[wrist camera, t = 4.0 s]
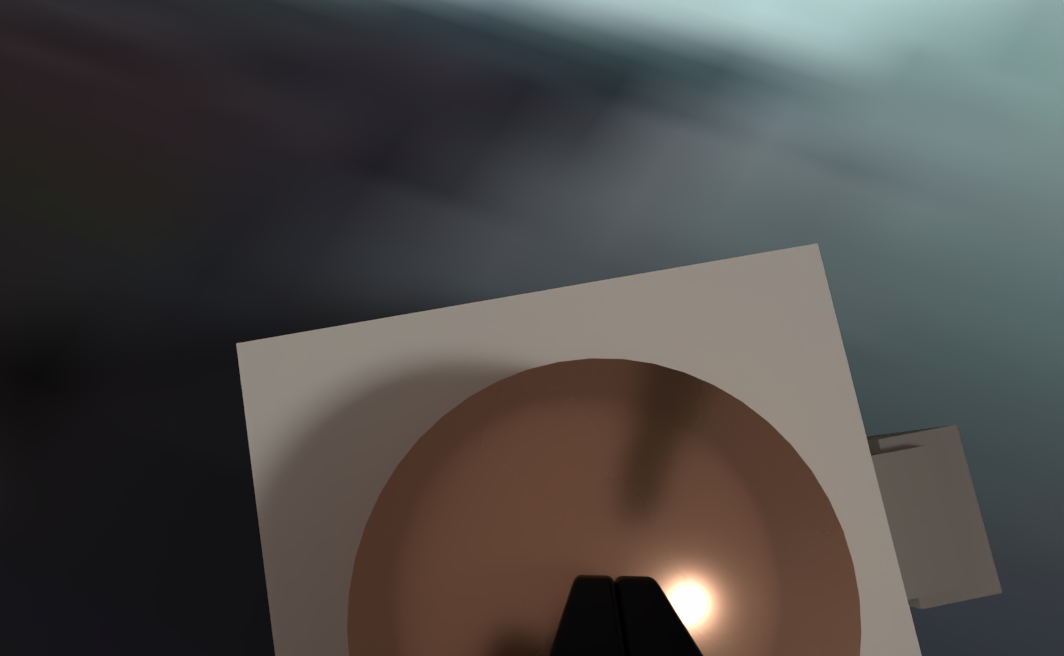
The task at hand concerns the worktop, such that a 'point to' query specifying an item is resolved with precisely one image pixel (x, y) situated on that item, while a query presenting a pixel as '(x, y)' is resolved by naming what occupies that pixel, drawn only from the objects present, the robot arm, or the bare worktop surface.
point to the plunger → (601, 520)
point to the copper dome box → (609, 333)
